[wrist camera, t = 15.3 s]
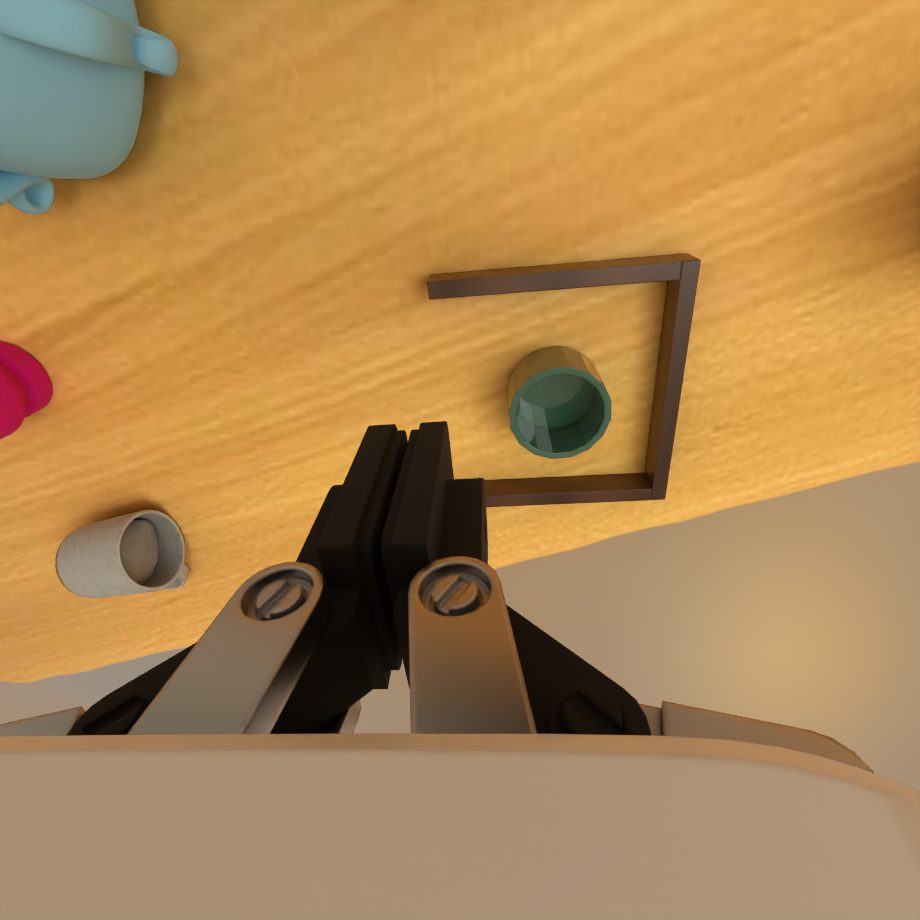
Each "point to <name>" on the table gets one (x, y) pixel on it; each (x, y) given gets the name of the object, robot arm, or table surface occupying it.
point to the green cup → (557, 403)
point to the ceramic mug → (123, 556)
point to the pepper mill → (20, 387)
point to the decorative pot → (70, 92)
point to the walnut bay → (668, 380)
